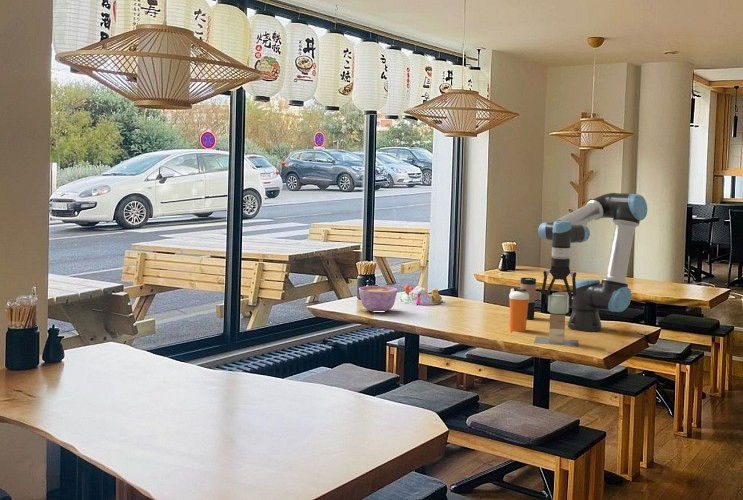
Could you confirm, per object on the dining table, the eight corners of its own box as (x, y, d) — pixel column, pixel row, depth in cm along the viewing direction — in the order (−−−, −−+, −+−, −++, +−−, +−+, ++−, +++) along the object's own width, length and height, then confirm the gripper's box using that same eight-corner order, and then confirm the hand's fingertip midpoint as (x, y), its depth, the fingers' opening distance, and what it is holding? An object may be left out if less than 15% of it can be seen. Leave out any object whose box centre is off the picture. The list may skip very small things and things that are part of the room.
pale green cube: (549, 310, 329) (550, 294, 328) (566, 311, 327) (567, 295, 326) (548, 313, 322) (549, 296, 321) (566, 314, 320) (566, 297, 319)
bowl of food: (350, 310, 392) (350, 288, 391) (378, 306, 405) (379, 284, 404) (376, 316, 377) (377, 293, 376) (405, 312, 390) (406, 289, 389)
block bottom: (549, 339, 329) (550, 325, 329) (564, 340, 328) (564, 326, 327) (548, 342, 324) (549, 328, 323) (563, 343, 322) (564, 329, 321)
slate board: (535, 338, 334) (536, 336, 334) (578, 342, 330) (578, 340, 329) (533, 345, 322) (533, 342, 322) (577, 349, 317) (577, 346, 317)
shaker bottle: (523, 335, 342) (525, 290, 340) (504, 332, 347) (506, 288, 344) (530, 331, 349) (532, 288, 347) (512, 329, 354) (513, 286, 352)
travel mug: (518, 316, 385) (520, 277, 383) (533, 317, 384) (535, 277, 382) (519, 319, 378) (520, 279, 376) (535, 320, 377) (536, 280, 375)
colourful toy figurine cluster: (443, 299, 433) (443, 283, 432) (443, 307, 410) (443, 289, 409) (398, 297, 435) (399, 281, 434) (396, 305, 412) (396, 288, 411)
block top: (550, 325, 329) (550, 312, 328) (564, 326, 327) (565, 313, 326) (549, 328, 323) (550, 314, 322) (564, 329, 321) (564, 315, 321)
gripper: (535, 257, 321) (533, 311, 324) (584, 259, 316) (582, 314, 318) (537, 255, 328) (534, 308, 331) (585, 257, 323) (582, 311, 325)
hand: (557, 311), depth 324 cm, fingers closed on pale green cube, 7 cm apart
